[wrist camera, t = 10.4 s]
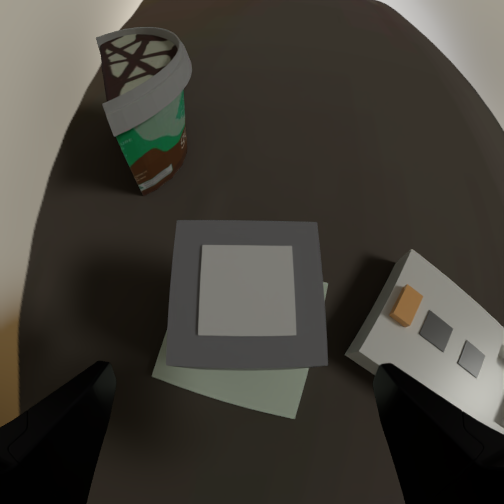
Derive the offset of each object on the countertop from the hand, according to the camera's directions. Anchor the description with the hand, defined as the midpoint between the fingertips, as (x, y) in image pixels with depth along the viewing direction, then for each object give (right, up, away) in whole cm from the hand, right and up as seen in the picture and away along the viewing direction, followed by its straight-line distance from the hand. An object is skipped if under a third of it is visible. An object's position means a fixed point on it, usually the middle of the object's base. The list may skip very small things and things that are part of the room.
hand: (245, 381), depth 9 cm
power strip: (+16, -5, +8) cm, 18 cm away
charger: (0, -1, +9) cm, 9 cm away
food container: (-7, +13, +15) cm, 22 cm away
